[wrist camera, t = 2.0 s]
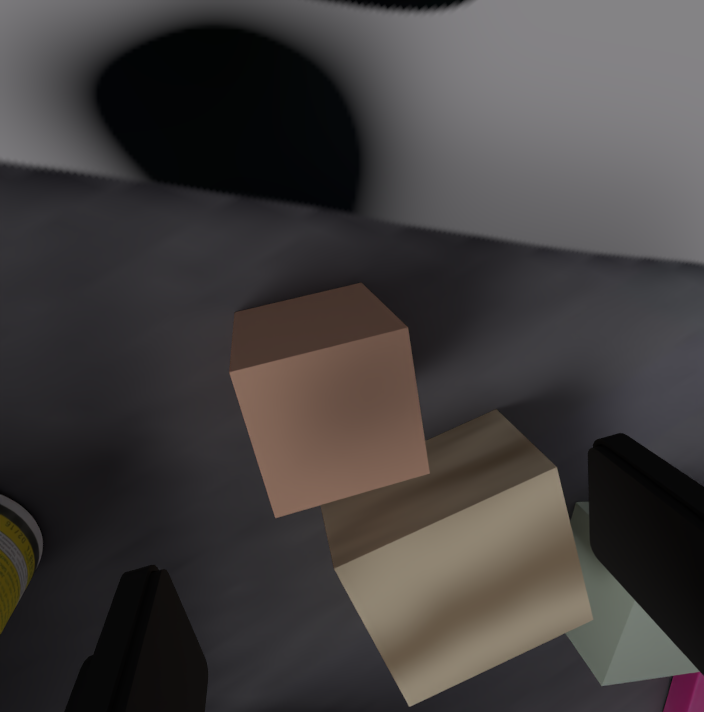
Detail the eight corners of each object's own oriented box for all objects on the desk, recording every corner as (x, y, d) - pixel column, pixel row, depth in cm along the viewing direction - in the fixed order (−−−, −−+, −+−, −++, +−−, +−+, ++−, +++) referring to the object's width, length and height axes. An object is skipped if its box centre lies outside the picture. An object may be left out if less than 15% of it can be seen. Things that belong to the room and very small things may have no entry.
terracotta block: (234, 312, 18) (229, 372, 13) (361, 282, 19) (407, 327, 13) (267, 424, 20) (275, 518, 15) (381, 393, 21) (429, 473, 15)
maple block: (316, 486, 22) (334, 568, 17) (493, 406, 22) (556, 466, 18) (380, 611, 26) (409, 707, 21) (532, 541, 26) (593, 619, 21)
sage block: (574, 500, 25) (645, 572, 21) (683, 494, 27) (772, 560, 22) (543, 601, 28) (601, 686, 23) (645, 591, 29) (719, 668, 25)
